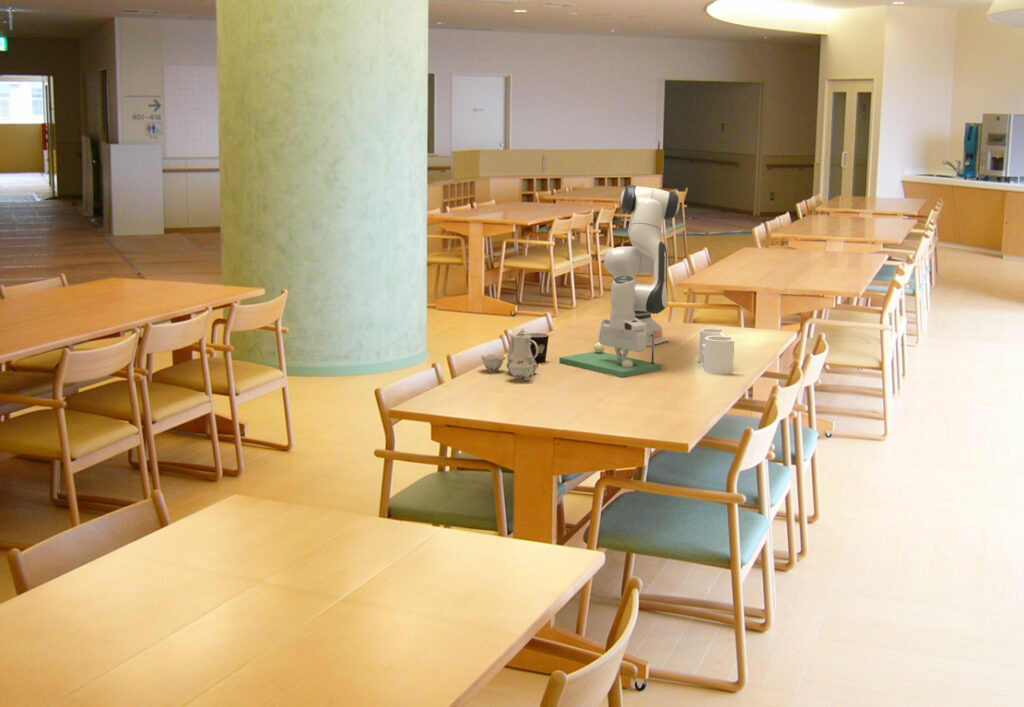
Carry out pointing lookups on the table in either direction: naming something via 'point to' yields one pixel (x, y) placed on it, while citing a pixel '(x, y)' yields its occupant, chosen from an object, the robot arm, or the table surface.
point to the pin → (654, 335)
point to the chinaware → (516, 357)
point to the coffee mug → (539, 346)
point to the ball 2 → (627, 363)
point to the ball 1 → (598, 347)
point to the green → (609, 364)
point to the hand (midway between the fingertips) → (621, 360)
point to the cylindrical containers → (716, 351)
